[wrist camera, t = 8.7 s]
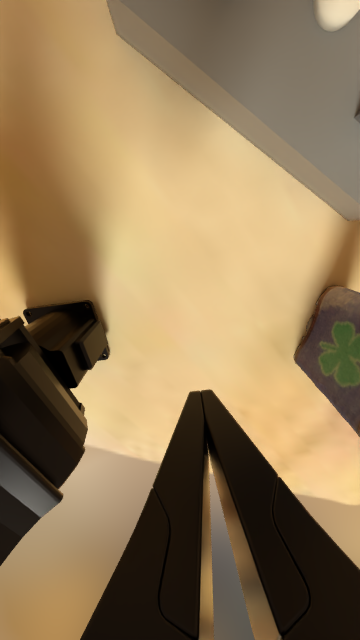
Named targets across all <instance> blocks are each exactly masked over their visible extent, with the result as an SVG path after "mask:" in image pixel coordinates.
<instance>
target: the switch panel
mask: <svg viewBox="0 0 360 640" xmlns="http://www.w3.org/2000/svg"><path fill="white" fill-rule="evenodd" d="M106 1H107V4H108V7H109V11H110V14H111V17H112V20H113V24H114V27H115V30H116V34H117V35H118V36H120V37H121V38H122V39H123V40H125V41H126V42H127V43H128V44H130V45H131V46H132V47H133V48H135V49H136V50H137V51H138V52H140V53H141V54H142V55H143V56H144V57H146V58H147V59H148V60H149V61H151V62H152V63H153V64H154V65H156V66H157V67H158V68H159V69H161V70H162V71H163V72H164V73H166V74H167V75H168V76H169V77H170V78H172V79H173V80H174V81H175V82H177V83H178V84H179V85H180V86H182V87H183V88H184V89H185V90H187V91H188V92H189V93H190V94H192V95H193V96H194V97H195V98H197V99H198V100H199V101H200V102H201V103H203V104H204V105H205V106H206V107H208V108H209V109H210V110H211V111H213V112H214V113H215V114H216V115H218V116H219V117H220V118H221V119H223V120H224V121H225V122H226V123H228V124H229V125H230V126H231V127H232V128H234V129H235V130H236V131H237V132H239V133H240V134H241V135H242V136H244V137H245V138H246V139H247V140H249V141H250V142H251V143H252V144H254V145H255V146H256V147H257V148H258V149H260V150H261V151H262V152H263V153H265V154H266V155H267V156H268V157H270V158H271V159H272V160H273V161H275V162H276V163H277V164H278V165H280V166H281V167H282V168H283V169H285V170H286V171H287V172H288V173H289V174H291V175H292V176H293V177H294V178H296V179H297V180H298V181H299V182H301V183H302V184H303V185H304V186H306V187H307V188H308V189H309V190H311V191H312V192H313V193H314V194H315V195H317V196H318V197H319V198H320V199H322V200H323V201H324V202H325V203H327V204H328V205H329V206H330V207H332V208H333V209H334V210H335V211H337V212H338V213H339V214H340V215H342V216H343V217H344V218H345V219H346V220H348V221H353V220H360V0H106Z"/></svg>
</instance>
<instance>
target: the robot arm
mask: <svg viewBox="0 0 360 640" xmlns="http://www.w3.org/2000/svg"><path fill="white" fill-rule="evenodd" d="M85 304H87V305H88V306H89V308H87V307H86V306H85ZM29 312H30V313H31V314H32V315H31V314H30V313H29ZM23 314H24V316H25V318H26V320H27V322H28V325H27V326H24V325H23V324H24V322H23V320H22V319H21V317H20V316H18V317H15V318H12V319H8V318H6V319H2V320H1V319H0V566H1V565H2V563H3V562H4V561H5V559H6V558H7V556H8V555H9V554H10V553H11V551H12V550H13V549H14V548H15V546H16V545H17V544H18V542H19V541H20V540H21V539H22V537H23V536H24V535H25V534H26V533H27V532H28V531H29V530H30V529H31V528H32V527H33V526H34V524H36V523H37V522H38V520H39V519H40V518H41V517H43V516H44V515H45V514H46V513H47V512H49V511H50V510H51V509H52V508H53V507H55V506H56V505H57V504H58V503H60V502H61V500H62V498H63V493H61V491H59V490H58V489H59V488H60V487H61V486H62V485H63V484H64V483H65V481H66V480H67V479H68V477H69V476H70V474H71V473H72V472H73V471H74V469H75V468H76V466H77V465H78V463H79V461H80V459H81V458H82V456H83V454H84V452H85V447H84V446H83V445H84V442H85V438H86V434H87V431H88V427H87V420H86V418H85V417H84V411H85V407H84V406H83V405H82V403H79V402H78V400H77V399H76V397H75V396H74V395H73V393H72V392H71V390H70V388H76V387H77V386H78V385H79V383H80V382H81V380H82V378H83V377H84V375H85V374H86V372H87V371H88V370H91V369H92V368H93V367H94V365H95V363H96V362H97V361H100V360H106V359H108V357H109V355H110V353H109V350H108V347H107V344H108V342H107V339H106V336H105V333H104V330H103V327H102V324H101V322H100V321H99V320H98V317H97V314H96V311H95V308H94V305H93V303H92V302H91V301H89V300H84V301H76V302H68V303H61V304H53V305H46V306H38V307H31V308H27V309H25V310H24V311H23ZM103 354H105V355H106V356H104V355H103ZM207 444H208V445H207ZM208 451H209V454H208ZM209 456H210V461H211V465H212V469H213V473H214V477H215V481H216V485H217V489H218V493H219V497H220V502H221V506H222V510H223V513H224V518H225V522H226V525H227V530H228V534H229V537H230V542H231V546H232V550H233V554H234V558H235V562H236V566H237V570H238V574H239V578H240V582H241V586H242V590H243V594H244V599H245V602H246V607H247V610H248V615H249V618H250V622H251V627H252V631H253V635H254V639H255V640H360V569H359V568H358V567H357V566H356V565H355V564H354V563H353V562H352V561H351V560H350V558H349V557H348V556H347V555H346V554H345V553H344V552H343V551H342V550H341V549H340V548H339V546H338V545H337V544H336V543H335V542H334V541H333V540H332V539H331V537H329V535H328V534H327V533H326V532H325V531H324V529H323V528H322V527H321V526H320V525H319V524H318V523H317V522H316V521H315V519H314V518H313V517H312V516H311V515H310V514H309V512H308V511H307V510H306V509H305V507H304V506H303V505H302V504H301V503H300V501H299V500H298V499H297V498H296V497H295V495H294V494H293V493H292V492H291V490H290V489H289V488H288V486H287V485H286V484H285V483H284V481H283V480H282V479H281V478H280V477H278V474H277V473H276V471H275V470H274V469H273V467H272V466H271V465H270V464H269V462H268V461H267V460H266V459H265V457H264V456H263V455H262V453H261V452H260V451H259V450H258V448H257V447H256V446H255V444H254V443H253V442H252V441H251V439H250V438H249V437H248V436H247V434H246V433H245V432H244V430H243V429H242V428H241V427H240V425H239V424H238V423H237V422H236V420H235V419H234V418H233V416H232V415H231V414H230V413H229V411H228V410H227V409H226V407H225V406H224V405H223V404H222V402H221V401H220V400H219V399H218V397H217V396H216V395H215V393H214V392H213V391H212V390H202V391H201V392H200V391H192V392H190V393H189V395H188V397H187V400H186V402H185V405H184V407H183V410H182V412H181V415H180V418H179V420H178V423H177V425H176V428H175V430H174V433H173V435H172V438H171V440H170V443H169V445H168V448H167V450H166V453H165V456H164V458H163V461H162V463H161V466H160V468H159V471H158V473H157V476H156V479H155V481H154V483H153V488H152V489H151V491H150V493H149V496H148V498H147V501H146V503H145V506H144V508H143V510H142V513H141V516H140V518H139V520H138V522H137V525H136V527H135V529H134V532H133V534H132V536H131V538H130V540H129V542H128V544H127V546H126V548H125V550H124V552H123V555H122V557H121V559H120V561H119V563H118V565H117V567H116V569H115V571H114V573H113V575H112V577H111V579H110V581H109V583H108V585H107V587H106V589H105V591H104V593H103V595H102V597H101V599H100V601H99V603H98V605H97V607H96V609H95V611H94V613H93V615H92V617H91V619H90V621H89V623H88V625H87V627H86V629H85V631H84V633H83V635H82V637H81V639H80V640H214V621H213V588H212V551H211V518H210V517H211V516H210V481H209Z"/></svg>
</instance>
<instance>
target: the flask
mask: <svg viewBox="0 0 360 640" xmlns="http://www.w3.org/2000/svg"><path fill="white" fill-rule="evenodd" d="M316 305H317V307H316V310H315V312H314V314H313V315H312V317H311V318H310V321H309V322H308V325H307V326H306V327H307V328H306V329H307V330H306V331H307V333H306V335H305V336H304V337H302V343H301V345H300V346H299V347H298V349H297V351H296V353H295V355H294V356H293V357H294V360H295V362H296V363H295V364H297V365H298V366H299V367H300V368H301V369H302V370H303V371H304V372H305V373H306V374H307V376H308V377H309V378H310V379H311V380H312V381H313V383H314V384H315V386H316V387H317V388H318V389H319V390H320V391H321V392H322V393H323V394H324V395H325V396H326V397H327V398H328V400H329V401H330V402H331V403H332V405H333V406H334V407H335V408H336V409H337V411H338V412H339V413H340V414H341V416H342V417H343V418H344V419H345V420H346V421H347V422H348V423H349V424H350V425H351V427H352V428H353V429H354V431H355V432H356V433H357V434H358V436H359V437H360V293H359V292H356V291H353V290H350V289H347V288H345V287H342V286H332V287H328V288H327V290H326V291H325V292H324V293H323V294H322V295H321V296H320V298H319V299H318V301H317V303H316Z"/></svg>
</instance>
